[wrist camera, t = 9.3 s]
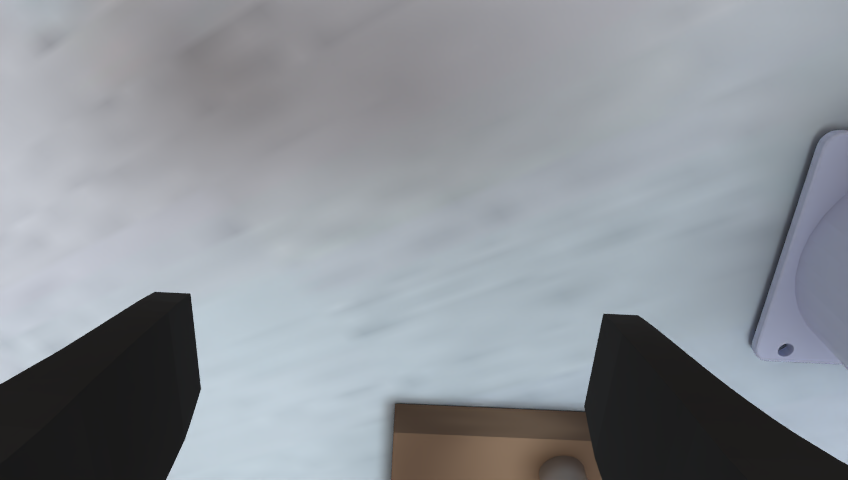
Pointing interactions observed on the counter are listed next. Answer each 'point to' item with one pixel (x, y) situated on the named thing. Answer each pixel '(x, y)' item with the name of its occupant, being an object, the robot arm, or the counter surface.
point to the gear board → (490, 444)
